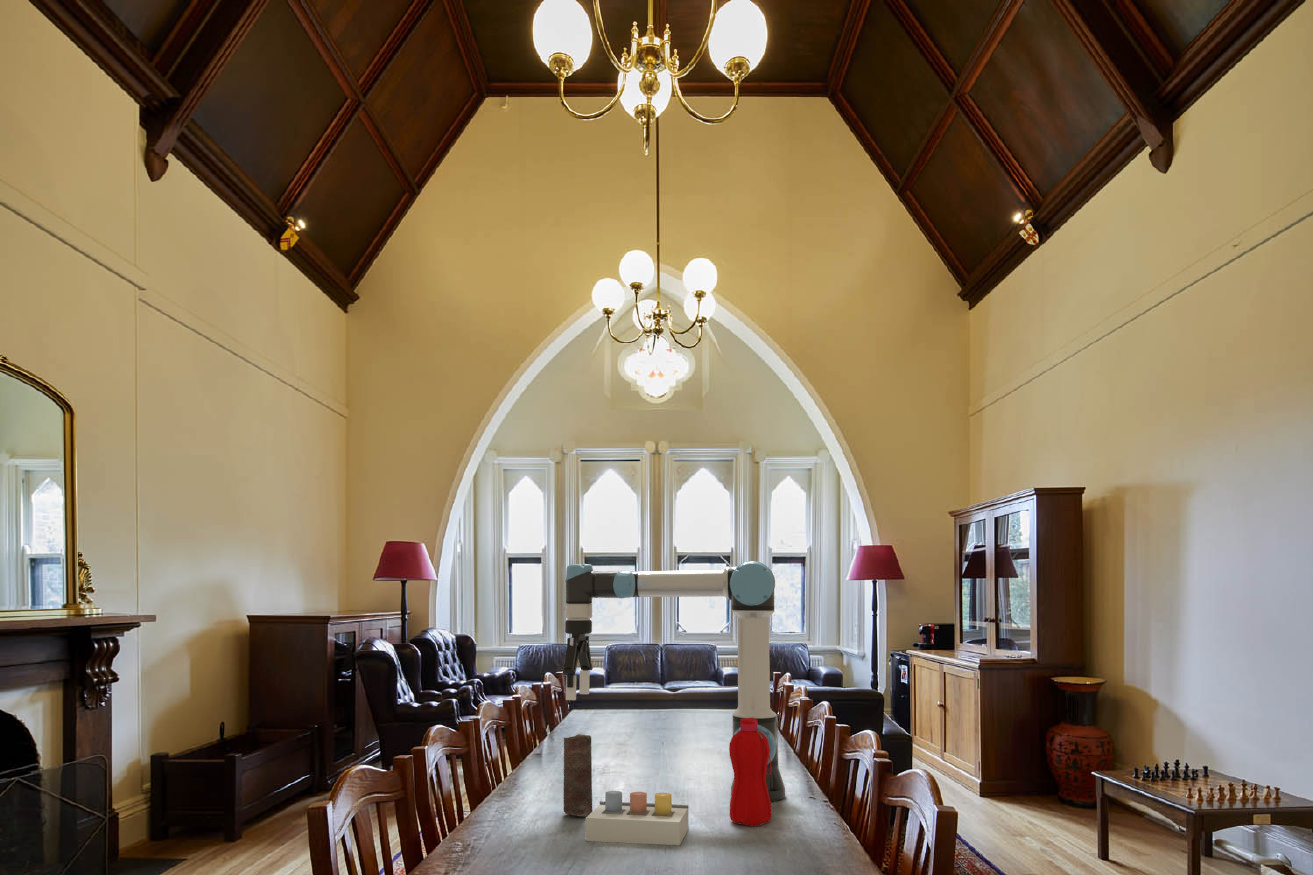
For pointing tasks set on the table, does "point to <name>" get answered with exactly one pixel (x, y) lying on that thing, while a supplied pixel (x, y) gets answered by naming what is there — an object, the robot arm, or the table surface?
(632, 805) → the button terracotta
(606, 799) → the button slate
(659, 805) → the button mustard
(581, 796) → the brown rounded bar
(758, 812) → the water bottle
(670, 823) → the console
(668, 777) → the table surface
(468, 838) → the table surface
